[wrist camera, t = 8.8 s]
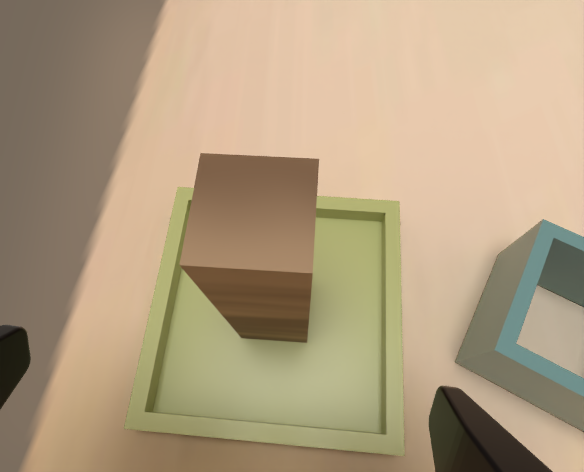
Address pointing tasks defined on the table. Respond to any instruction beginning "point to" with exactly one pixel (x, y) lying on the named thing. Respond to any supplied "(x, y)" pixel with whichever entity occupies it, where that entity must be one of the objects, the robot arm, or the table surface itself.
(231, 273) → the walnut stick
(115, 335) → the table surface
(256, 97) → the table surface
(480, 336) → the teal open box
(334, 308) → the olive tray
